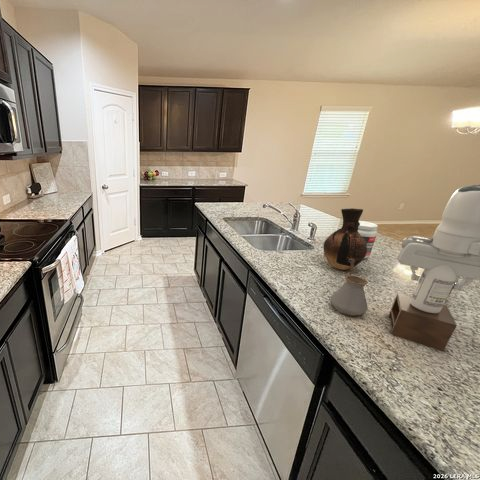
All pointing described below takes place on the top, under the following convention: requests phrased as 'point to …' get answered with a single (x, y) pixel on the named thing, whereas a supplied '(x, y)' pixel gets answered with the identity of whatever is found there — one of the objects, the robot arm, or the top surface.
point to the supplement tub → (368, 234)
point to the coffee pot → (351, 295)
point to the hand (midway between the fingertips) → (434, 284)
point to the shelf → (421, 323)
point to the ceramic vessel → (346, 242)
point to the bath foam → (433, 289)
